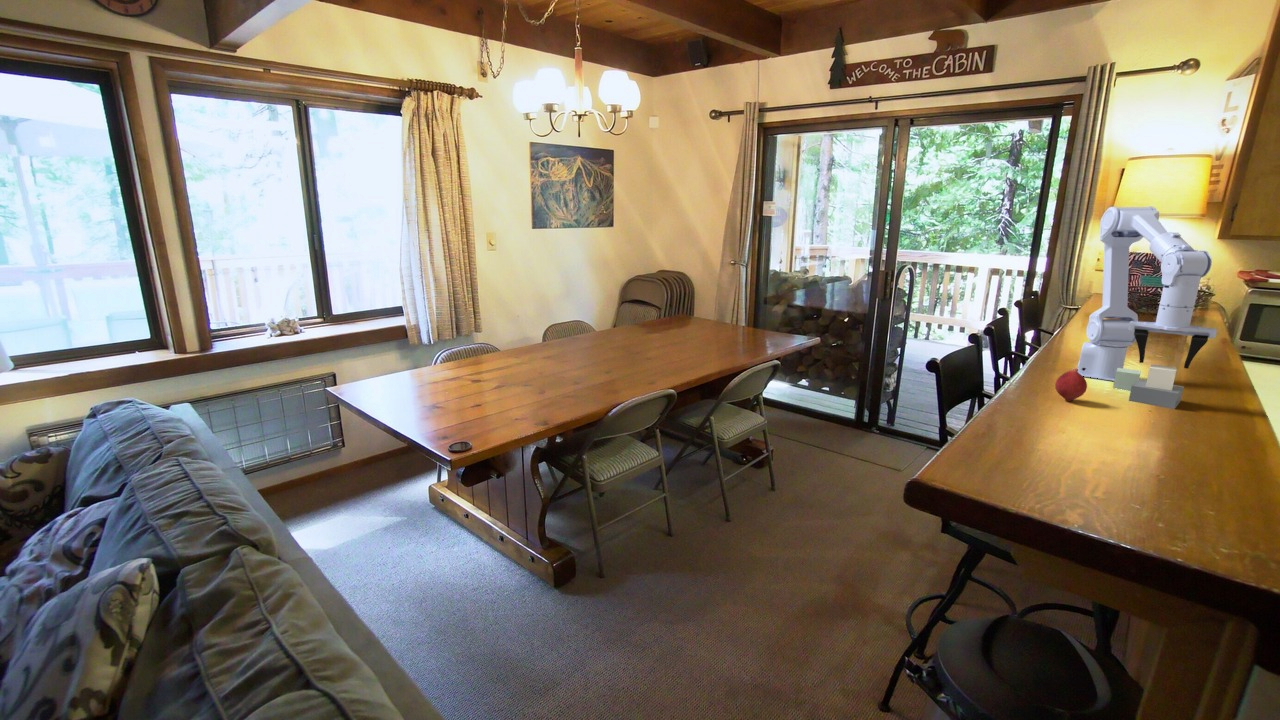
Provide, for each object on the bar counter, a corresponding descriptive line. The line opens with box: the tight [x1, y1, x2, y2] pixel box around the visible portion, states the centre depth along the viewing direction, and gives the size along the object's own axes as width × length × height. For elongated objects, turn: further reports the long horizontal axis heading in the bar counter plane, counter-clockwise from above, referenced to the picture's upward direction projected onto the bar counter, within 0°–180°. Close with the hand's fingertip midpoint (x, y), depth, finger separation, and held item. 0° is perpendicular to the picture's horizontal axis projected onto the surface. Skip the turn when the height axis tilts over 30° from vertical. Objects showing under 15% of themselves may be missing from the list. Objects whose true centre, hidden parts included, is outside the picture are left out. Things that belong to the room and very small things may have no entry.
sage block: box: [1112, 367, 1142, 392], centre depth 144 cm, size 4×4×4 cm
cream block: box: [1146, 363, 1178, 390], centre depth 133 cm, size 4×4×4 cm
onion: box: [1054, 367, 1088, 402], centre depth 134 cm, size 6×6×8 cm
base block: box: [1128, 378, 1185, 410], centre depth 134 cm, size 8×8×4 cm
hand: (1163, 364), depth 132 cm, fingers open, 7 cm apart
